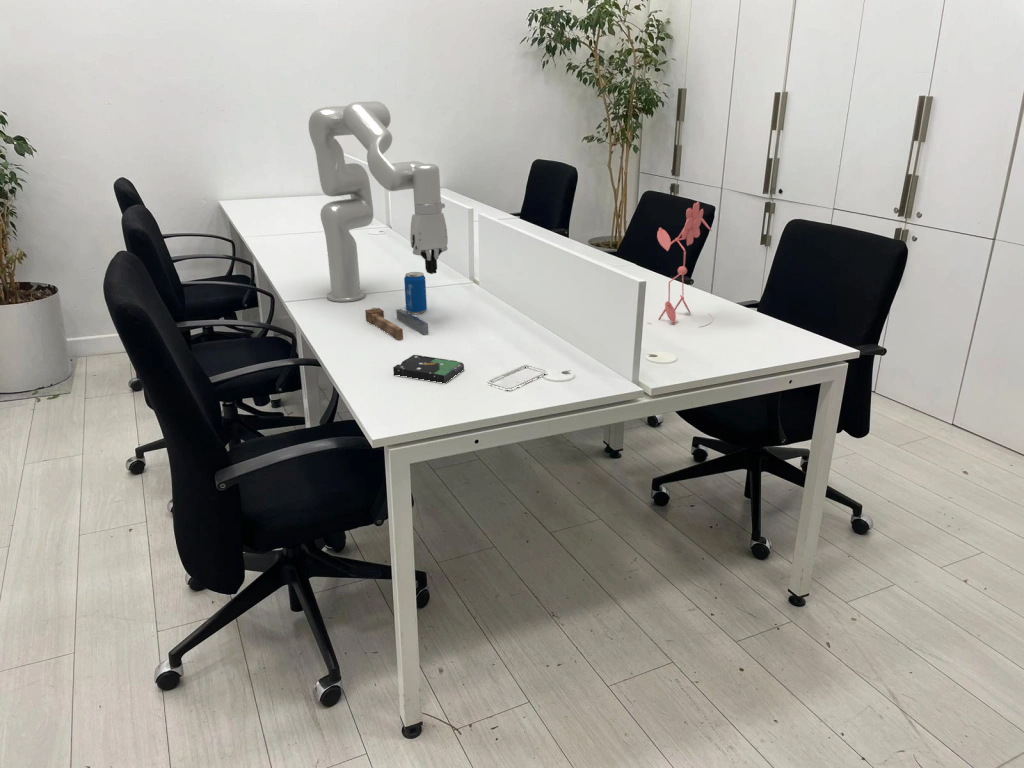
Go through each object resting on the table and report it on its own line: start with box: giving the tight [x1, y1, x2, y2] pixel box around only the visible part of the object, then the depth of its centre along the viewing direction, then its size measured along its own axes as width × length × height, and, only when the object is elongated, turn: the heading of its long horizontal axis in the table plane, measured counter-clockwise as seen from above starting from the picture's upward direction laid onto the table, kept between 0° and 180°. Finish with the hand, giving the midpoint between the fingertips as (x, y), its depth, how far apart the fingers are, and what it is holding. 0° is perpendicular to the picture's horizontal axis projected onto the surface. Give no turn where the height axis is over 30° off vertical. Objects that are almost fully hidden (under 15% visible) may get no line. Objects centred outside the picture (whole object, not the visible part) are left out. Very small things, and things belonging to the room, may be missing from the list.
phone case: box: [486, 364, 548, 389], centre depth 189 cm, size 7×1×15 cm
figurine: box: [646, 200, 713, 328], centre depth 225 cm, size 15×26×35 cm, turn 142°
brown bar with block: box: [364, 307, 404, 341], centre depth 225 cm, size 22×4×4 cm, turn 33°
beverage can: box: [403, 271, 428, 314], centre depth 240 cm, size 6×6×12 cm
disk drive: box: [392, 354, 465, 384], centre depth 193 cm, size 10×3×15 cm
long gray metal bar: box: [395, 308, 429, 335], centre depth 227 cm, size 18×2×3 cm, turn 33°
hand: (431, 272), depth 226 cm, fingers closed
